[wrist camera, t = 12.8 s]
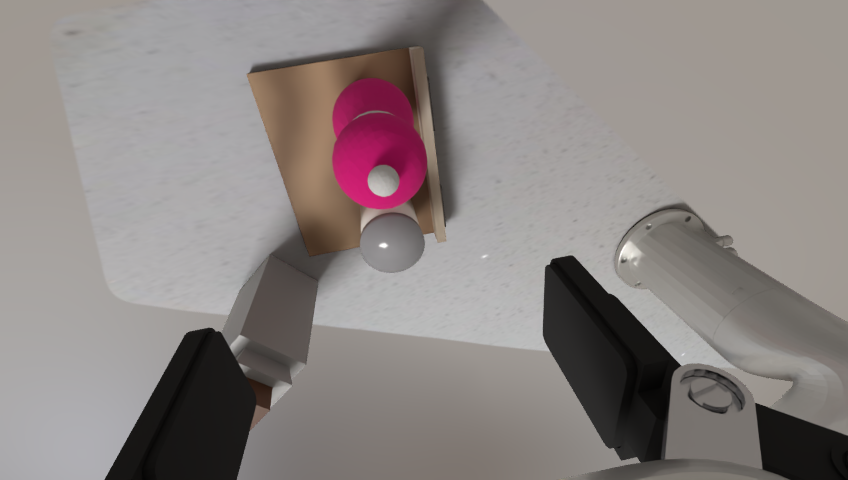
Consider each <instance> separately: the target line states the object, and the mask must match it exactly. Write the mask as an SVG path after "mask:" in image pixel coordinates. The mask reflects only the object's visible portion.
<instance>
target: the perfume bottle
mask: <svg viewBox="0 0 848 480" xmlns="http://www.w3.org/2000/svg"><path fill="white" fill-rule="evenodd" d="M317 288H318V281H316V280H314V279H313V278H311V277H309V276H307V275H306V274H304V273H302V272H300V271H299V270H297V269H295V268H293V267H292V266H290V265H288V264H286V263H285V262H283V261H281V260H279V259H278V258H276V257H274V256H272V255H271V254H270V255H269V256H268V257H267V258H266V260H265V261H264V262H263V263H262V265H261V266H260V267H259V268H258V269H257V271H256V272H255V273H254V274H253V276H252V277H251V278H250V279H249V280H248V282H247V283H246V284H245V285H244V286H243V288H242V289H241V290H240V291H239V294H238V296H237V298H236V301H235V303H234V305H233V307H232V310H231V312H230V314H229V317H228V319H227V321H226V324H225V326H224V328H223V330H222V335H223V336H224V338H225V340H226V342H227V343H228V345H229V347H230V349H231V351H232V352H233V354H234V356H235V358H236V360H237V361H238V363H239V365H240V367H241V369H242V370H243V372H244V374H245V376H246V378H247V379H248V381H249V383H250V385H251V387H252V388H253V390H254V392H255V394H256V400H257V402H256V409H255V412H254V416H253V420H252V424H251V427H250V430H251V429H252V428H253V427H254V426H255V425H256V424H257V423H258V422H259V421H260V420H261V419H262V418H263V417H264V416H265V414H267V413H268V412H269V411H270V408H271V407H272V406H273V405H274V404H275V403H276V402H277V401H278V400H279V399H280V398H281V397H282V395H284V394H285V393H286V392H287V391H288V390H289V389H290V388H291V386H292V379H293V378H294V377H295V376H296V374H298V373H299V372H300V370H301V369H302V368H303V367H304V366H305V365H306V362H307V356H308V348H309V342H310V335H311V328H312V322H313V315H314V308H315V302H316V295H317Z"/></svg>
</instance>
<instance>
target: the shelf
mask: <svg viewBox="0 0 848 480" xmlns="http://www.w3.org/2000/svg"><path fill="white" fill-rule="evenodd" d="M247 77H248V80H249V83H250V86H251V89H252V92H253V94H254V97H255V100H256V103H257V106H258V109H259V112H260V115H261V118H262V121H263V123H264V126H265V129H266V132H267V135H268V138H269V141H270V144H271V147H272V149H273V152H274V155H275V158H276V161H277V164H278V167H279V170H280V173H281V176H282V178H283V181H284V184H285V187H286V190H287V193H288V196H289V199H290V202H291V205H292V207H293V210H294V213H295V216H296V219H297V222H298V225H299V228H300V231H301V233H302V236H303V239H304V242H305V245H306V248H307V251H308V254H309V257H310V256H315V255H320V254H325V253H330V252H336V251H341V250H346V249H351V248H356V247H360V236H361V214H360V209H361V205H360V204H358V203H356V202H354V201H353V200H352V199H351V198H350V197H348V196H347V195H346V194H345V192H344V191H343V190H342V189H341V188H340V186H339V184H338V182H337V180H336V178H335V175H334V171H333V166H332V154H333V148H334V144H335V142H336V140H337V138H336V136H335V133H334V129H333V122H332V115H333V108H334V105H335V102H336V100H337V98H338V96H339V95H340V93H341V92H342V91H343V90H344V89H345V88H346V87H347V86H349V85H350V84H352V83H353V82H355V81H358V80H361V79H366V78H378V79H382V80H385V81H388V82H390V83H392V84H394V85H395V86H396V87H398V88H399V89H400V90H401V91H402V92H403V93H404V95H405V96H406V98H407V99H408V101H409V103H410V105H411V108H412V112H413V118H414V129H415V130H416V131H417V132H418V133H419V135H420V137H421V139H422V141H423V143H424V145H425V149H426V154H427V171H426V175H425V179H424V181H423V183H422V185H421V187H420V189H419V190H418V191H417V193H416V194H415V195H414V196H413V197H412V198H410V199H411V201H412V204H413V207H414V210H415V214H416V217H417V220H418V223H419V226H420V228H421V230H422V233H423V235H424V234H429V233H434V234H435V236H436V239H437V242H438V243H439V242H445V241H446V233H445V227H446V222H445V214H444V205H443V197H442V188H441V185H440V183H439V175H438V166H437V158H436V150H435V141H434V133H433V131H435V129H434V120H433V112H432V103H431V95H430V86H429V78H428V76H427V74H426V66H425V58H424V49H423V48H422V47H419V46H414V47H408V48H402V49H395V50H389V51H383V52H377V53H371V54H364V55H358V56H352V57H346V58H339V59H333V60H327V61H321V62H314V63H308V64H302V65H296V66H290V67H283V68H277V69H271V70H265V71H258V72H252V73H248V74H247Z"/></svg>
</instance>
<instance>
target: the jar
mask: <svg viewBox="0 0 848 480" xmlns="http://www.w3.org/2000/svg"><path fill="white" fill-rule="evenodd" d="M360 214H361V236H360V251H361V254H362V257H363V259H364V260H365V262H366V263H367V264H368V265H369V266H371V267H372V268H374V269H376V270H378V271H381V272H386V273H395V272H400V271H404V270H406V269H408V268H410V267H411V266H413V265H414V264H415V263H416V262H417V261H418V260H419V259H420V257H421V256H422V254H423V251H424V246H425V241H424V236H423V233H422V230H421V228H420V226H419V223H418V220H417V217H416V214H415V210H414V207H413V204H412V201H411V199H409V200H408V201H407V202H405V203H403V204H402V205H399V206H397V207H394V208H390V209H372V208H368V207H365V206H362V205H361V209H360Z"/></svg>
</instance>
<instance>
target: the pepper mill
mask: <svg viewBox="0 0 848 480" xmlns="http://www.w3.org/2000/svg"><path fill="white" fill-rule="evenodd" d="M332 122H333V129H334V133H335V136H336V138H337V140H336V142H335V144H334V148H333V154H332V166H333V171H334V175H335V178H336V180H337V182H338V184H339V186H340V188H341V189H342V190H343V191H344V192H345V194H346V195H347V196H348V197H350V198H351V199H352V200H353V201H354V202H356V203H358V204H360V205H362V206H365V207H368V208H372V209H390V208H394V207H397V206H399V205H402V204H403V203H405V202H407V201H408V200H409V199H410V198H412V197H413V196H414V195H415V194H416V193H417V191H418V190H419V189H420V187H421V185H422V183H423V181H424V179H425V175H426V171H427V154H426V149H425V145H424V143H423V141H422V139H421V137H420V135H419V133H418V132H417V131H416V130H415V129H414V118H413V112H412V108H411V105H410V103H409V101H408V99H407V98H406V96H405V95H404V93H403V92H402V91H401V90H400V89H399V88H398V87H396V86H395V85H394V84H392V83H390V82H388V81H385V80H382V79H378V78H366V79H361V80H358V81H355V82H353V83H352V84H350V85H349V86H347V87H346V88H345V89H344V90H343V91H342V92H341V93H340V95H339V96H338V98H337V100H336V102H335V105H334V108H333V115H332Z"/></svg>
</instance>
